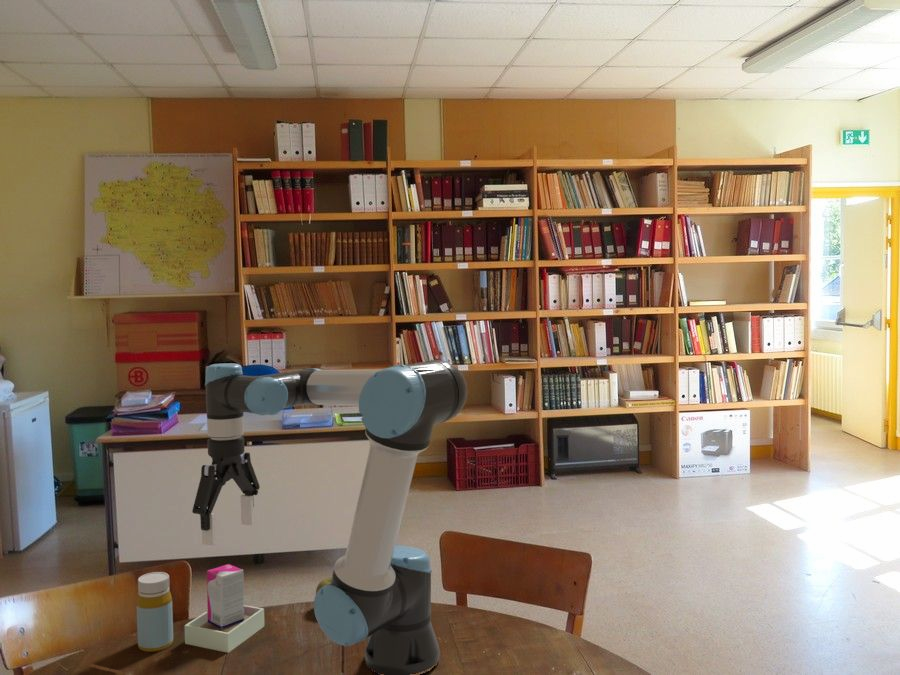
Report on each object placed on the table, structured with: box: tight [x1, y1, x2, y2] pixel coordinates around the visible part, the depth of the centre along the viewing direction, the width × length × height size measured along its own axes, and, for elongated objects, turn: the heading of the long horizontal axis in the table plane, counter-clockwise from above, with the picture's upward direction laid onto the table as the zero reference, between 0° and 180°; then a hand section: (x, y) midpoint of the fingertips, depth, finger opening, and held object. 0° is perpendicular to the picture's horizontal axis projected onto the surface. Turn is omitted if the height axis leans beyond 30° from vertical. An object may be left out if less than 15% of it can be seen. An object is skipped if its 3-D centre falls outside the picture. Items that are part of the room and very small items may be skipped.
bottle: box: [136, 571, 174, 653], centre depth 166 cm, size 7×7×15 cm
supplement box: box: [206, 563, 245, 629], centre depth 170 cm, size 6×6×12 cm
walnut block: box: [200, 615, 250, 633], centre depth 171 cm, size 7×8×3 cm
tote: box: [184, 604, 265, 653], centre depth 171 cm, size 11×13×4 cm
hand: (228, 534), depth 169 cm, fingers open, 13 cm apart
